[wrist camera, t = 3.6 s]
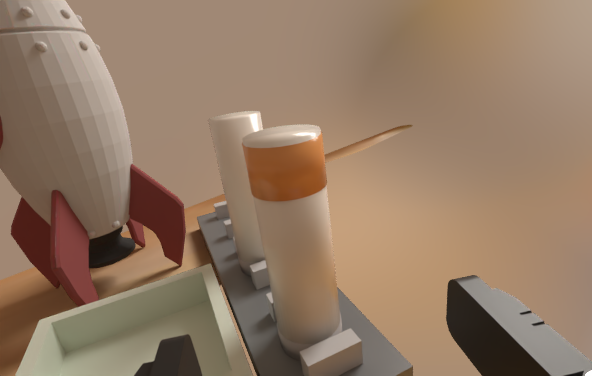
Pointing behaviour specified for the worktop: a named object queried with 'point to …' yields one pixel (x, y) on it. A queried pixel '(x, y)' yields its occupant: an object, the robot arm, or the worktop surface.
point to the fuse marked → (295, 232)
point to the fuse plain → (238, 182)
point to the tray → (139, 331)
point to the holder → (263, 324)
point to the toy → (72, 152)
